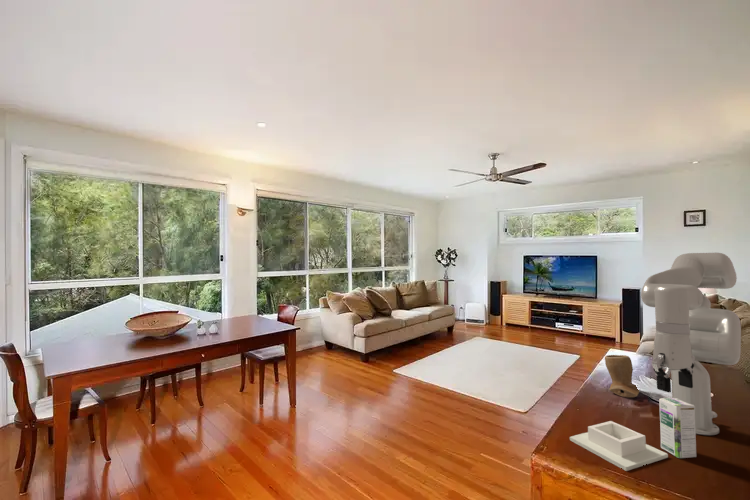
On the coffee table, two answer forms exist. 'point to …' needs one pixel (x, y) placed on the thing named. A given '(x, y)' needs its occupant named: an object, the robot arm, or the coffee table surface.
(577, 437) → the dock socket
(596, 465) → the coffee table surface
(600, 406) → the coffee table surface
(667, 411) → the syrup box
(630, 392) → the tan boot
